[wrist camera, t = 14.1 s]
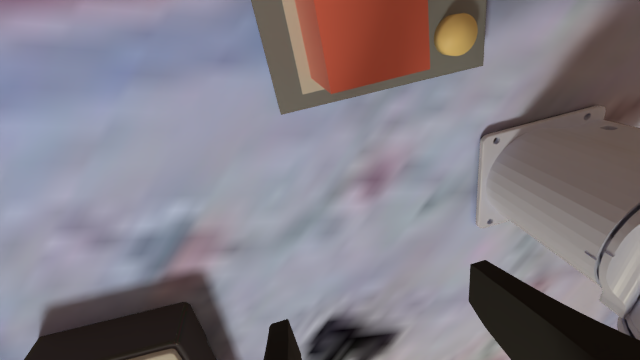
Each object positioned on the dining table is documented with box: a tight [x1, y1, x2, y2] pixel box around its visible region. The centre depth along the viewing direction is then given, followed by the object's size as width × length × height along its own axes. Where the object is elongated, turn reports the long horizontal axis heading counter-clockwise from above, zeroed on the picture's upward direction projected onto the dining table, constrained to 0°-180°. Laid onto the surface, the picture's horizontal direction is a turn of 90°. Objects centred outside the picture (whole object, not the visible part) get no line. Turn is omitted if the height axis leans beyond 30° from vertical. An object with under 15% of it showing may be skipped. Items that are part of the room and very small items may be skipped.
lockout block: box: [295, 0, 430, 94], centre depth 13 cm, size 4×4×5 cm
